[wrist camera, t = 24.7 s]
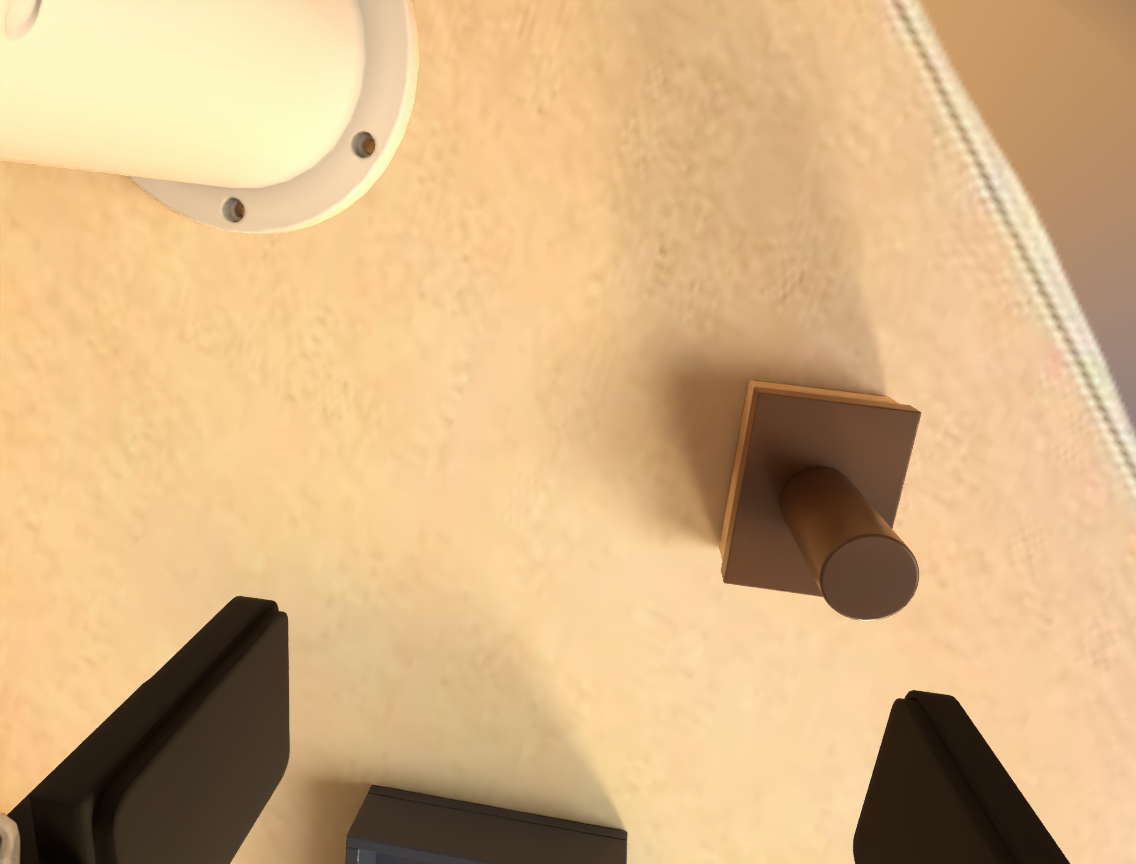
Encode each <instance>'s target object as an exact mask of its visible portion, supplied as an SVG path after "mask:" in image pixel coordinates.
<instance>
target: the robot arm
mask: <svg viewBox="0 0 1136 864" xmlns="http://www.w3.org/2000/svg"><path fill="white" fill-rule="evenodd" d="M418 72H419V53H418V28H417V23H416V18H415V13H414V8H413V3H412V0H0V160H4V161H12V162H21V163H29V164H37V165H45V166H54V167H62V168H70V169H78V170H87V171H95V172H103V173H111V174H120V175H128V176H129V177H130V178H131V179H132V180H133V182H134V183H135V184H136V185H137V186H138V187H139V188H141V189H142V190H143V191H145V192H146V193H147V194H149V195H150V196H151V197H153V198H154V199H155V200H157V201H158V202H159V203H161V204H162V205H163V206H165V207H166V208H168V209H170V210H172V211H174V212H176V213H178V214H180V215H182V216H184V217H186V218H188V219H190V220H192V221H194V222H196V223H199V224H203V225H206V226H210V227H213V228H217V229H220V230H224V231H228V232H240V233H253V234H268V233H286V232H290V231H294V230H298V229H302V228H307V227H311V226H314V225H316V224H318V223H320V222H322V221H325V220H327V219H329V218H331V217H333V216H335V215H337V214H339V213H341V212H342V211H343V210H345V209H346V208H347V207H349V206H350V205H351V204H352V203H354V202H355V201H356V200H358V199H359V198H360V197H361V196H363V195H364V194H365V193H366V192H367V191H368V190H369V188H370V187H371V186H372V185H373V184H374V183H375V181H376V180H377V179H378V178H379V177H380V175H381V174H382V173H383V172H384V171H385V170H386V168H387V166H388V165H389V163H390V161H391V159H392V157H393V155H394V154H395V152H396V150H397V148H398V146H399V145H400V143H401V141H402V139H403V136H404V133H405V130H406V127H407V124H408V121H409V118H410V115H411V112H412V109H413V106H414V100H415V93H416V86H417V79H418ZM371 140H374V142H375V150H374V153H373V154H369V153H368V152H367V149H366V146H367V143H368V142H369V141H371ZM242 205H243V206H244V210H245V212H244V216H243V215H242V213H241V207H242ZM289 752H290V742H289V652H288V616H287V614H286V613H285V612H281V611H279V610H278V606H277V603H276V602H275V601H272V600H265V599H258V598H251V597H243V596H237V597H235V598H233V599H232V600H231V601H230V602H229V603H228V604H227V605H226V606H225V607H224V608H223V609H222V610H221V611H220V612H219V613H217V614H216V615H215V616H214V617H213V618H212V619H211V620H210V621H209V622H208V623H207V624H206V625H205V626H204V627H203V628H202V629H201V630H200V631H199V632H198V633H197V634H196V635H195V636H194V637H193V638H192V639H191V640H190V641H189V642H188V643H187V644H186V645H185V646H183V647H182V648H181V649H180V650H179V651H178V652H177V653H176V654H175V655H174V656H173V657H172V658H171V659H170V660H169V661H168V662H167V663H166V664H165V665H164V666H163V667H162V668H161V669H160V670H159V671H158V672H157V673H156V674H155V675H154V676H153V677H151V678H150V679H149V680H147V681H146V682H145V683H143V684H142V685H141V686H140V687H139V688H138V689H137V690H136V691H135V692H134V693H133V694H132V695H131V696H130V697H129V698H128V699H127V700H126V701H125V702H124V703H123V704H122V705H121V706H120V707H118V708H117V709H116V710H115V711H114V712H113V713H112V714H111V715H110V716H109V717H108V718H107V719H106V720H105V721H104V722H103V723H102V724H101V725H100V726H99V727H98V728H97V729H96V730H95V731H94V732H93V733H92V734H91V735H89V736H88V737H87V738H86V739H85V740H84V741H83V742H82V743H81V744H80V745H79V746H78V747H77V748H76V749H75V750H74V751H73V752H72V753H71V754H70V755H69V756H68V757H67V758H66V759H65V760H64V761H63V762H62V763H61V764H59V765H58V766H57V767H56V768H55V769H54V770H53V771H52V772H51V773H50V774H49V775H48V776H47V777H46V778H45V779H44V780H43V781H42V782H41V783H40V784H39V785H38V786H37V787H36V788H35V789H34V790H33V791H32V792H31V793H29V794H28V795H27V796H26V797H25V798H24V799H23V800H22V801H21V802H20V803H19V804H18V805H17V806H16V807H15V808H14V809H13V810H12V811H11V812H10V813H9V814H8V815H5V814H2V813H0V864H230V862H231V861H232V859H233V858H234V856H235V854H236V853H237V851H238V849H239V848H240V846H241V845H242V843H243V841H244V840H245V838H246V836H247V835H248V833H249V831H250V830H251V828H252V827H253V825H254V823H255V822H256V820H257V818H258V817H259V815H260V813H261V812H262V810H263V809H264V807H265V805H266V804H267V802H268V800H269V799H270V797H271V796H272V794H273V792H274V791H275V789H276V787H277V786H278V784H279V782H280V781H281V779H282V777H283V775H284V773H285V770H286V767H287V764H288V760H289ZM853 854H854V860H855V864H1070V863H1069V861H1068V860H1067V858H1066V857H1065V855H1064V854H1063V853H1062V851H1061V850H1060V848H1059V847H1058V845H1057V844H1056V842H1055V841H1054V839H1053V838H1052V837H1051V835H1050V834H1049V832H1048V831H1047V829H1046V828H1045V826H1044V825H1043V824H1042V822H1041V821H1040V819H1039V818H1038V816H1037V815H1036V813H1035V812H1034V811H1033V809H1032V808H1031V806H1030V805H1029V803H1028V802H1027V800H1026V799H1025V797H1024V796H1023V795H1022V793H1021V792H1020V790H1019V789H1018V787H1017V786H1016V784H1015V783H1014V782H1013V780H1012V779H1011V777H1010V776H1009V774H1008V773H1007V771H1006V770H1005V768H1004V767H1003V766H1002V764H1001V763H1000V761H999V760H998V758H997V757H996V755H995V754H994V753H993V751H992V750H991V748H990V747H989V745H988V744H987V742H986V741H985V740H984V738H983V737H982V735H981V734H980V732H979V731H978V729H977V728H976V726H975V725H974V724H973V722H972V721H971V719H970V718H969V716H968V715H967V713H966V712H965V711H964V709H963V708H962V706H961V705H960V703H959V702H958V701H957V700H956V699H955V698H954V697H953V696H950V695H944V694H937V693H930V692H923V691H916V690H912V691H909V692H908V694H907V695H906V697H905V699H901V698H899V699H896V700H895V702H894V703H893V706H892V709H891V712H890V716H889V719H888V722H887V726H886V729H885V733H884V736H883V739H882V743H881V746H880V750H879V753H878V756H877V760H876V763H875V767H874V770H873V773H872V777H871V780H870V784H869V787H868V790H867V794H866V797H865V801H864V804H863V807H862V811H861V814H860V818H859V821H858V824H857V828H856V831H855V835H854V840H853Z"/></svg>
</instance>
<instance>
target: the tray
mask: <svg viewBox="0 0 1136 864" xmlns="http://www.w3.org/2000/svg"><path fill="white" fill-rule="evenodd" d="M346 846H347V847H346V864H627V832H626V831H621V830H615V829H610V828H604V827H599V826H593V825H588V824H582V823H577V822H571V821H566V820H560V819H555V818H549V817H544V816H538V815H533V814H527V813H522V812H516V811H511V810H506V809H500V808H495V807H489V806H484V805H478V804H473V803H467V802H462V801H456V800H451V799H445V798H440V797H434V796H429V795H423V794H418V793H412V792H407V791H402V790H396V789H391V788H385V787H380V786H374V785H372V786H371V788H370V790H369V792H368V794H367V796H366V798H365V800H364V802H363V804H362V806H361V808H360V810H359V812H358V814H357V816H356V818H355V820H354V822H353V824H352V826H351V829H350V831H349V833H348V835H347V841H346Z"/></svg>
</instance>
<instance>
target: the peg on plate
mask: <svg viewBox="0 0 1136 864" xmlns="http://www.w3.org/2000/svg"><path fill="white" fill-rule="evenodd" d="M920 416H921V412H920V411H918V410H917V409H915V408H913V407H912V406H910V405H902V404H899V403H898V402H896V401H894V400H893V399H891V398H890V397H886V396H878V395H870V394H861V393H853V392H845V391H837V390H828V389H820V388H812V387H803V386H795V385H787V384H778V383H770V382H762V381H754V380H750V381H749V383H748V389H747V395H746V400H745V406H744V411H743V417H742V423H741V428H740V434H739V440H738V445H737V451H736V456H735V462H734V468H733V473H732V479H731V485H730V490H729V496H728V501H727V507H726V513H725V518H724V524H723V530H722V535H721V541H720V546H719V549H720V553H721V557H722V561H723V562H722V567H721V573H722V577H723V581H724V583H727V584H734V585H741V586H749V587H756V588H763V589H770V590H777V591H784V592H791V593H798V594H805V595H812V596H820V597H824V599H825V600H826V602H827V603H828V604H829V605H830V607H831V608H833V609H834V610H835V611H836V612H838V613H840V614H841V615H843V616H845V617H848V618H851V619H855V620H860V621H873V620H879V619H883V618H886V617H889V616H891V615H893V614H895V613H897V612H898V611H900V610H901V609H902V608H903V607H905V606H906V605H907V603H908V602H909V601H910V600H911V598H912V597H913V595H914V593H915V591H916V589H917V586H918V581H919V568H918V564H917V561H916V559H915V556H914V555H913V553H912V552H911V551H910V549H909V548H908V547H907V546H906V545H905V544H904V542H903V541H902V540H901V539H900V538H899V537H898V535H897V534H896V533H895V532H894V531H893V530H892V528H893V524H894V520H895V516H896V512H897V508H898V504H899V500H900V496H901V492H902V488H903V484H904V480H905V476H906V472H907V468H908V464H909V460H910V456H911V452H912V448H913V444H914V440H915V436H916V432H917V428H918V424H919V420H920Z"/></svg>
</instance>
